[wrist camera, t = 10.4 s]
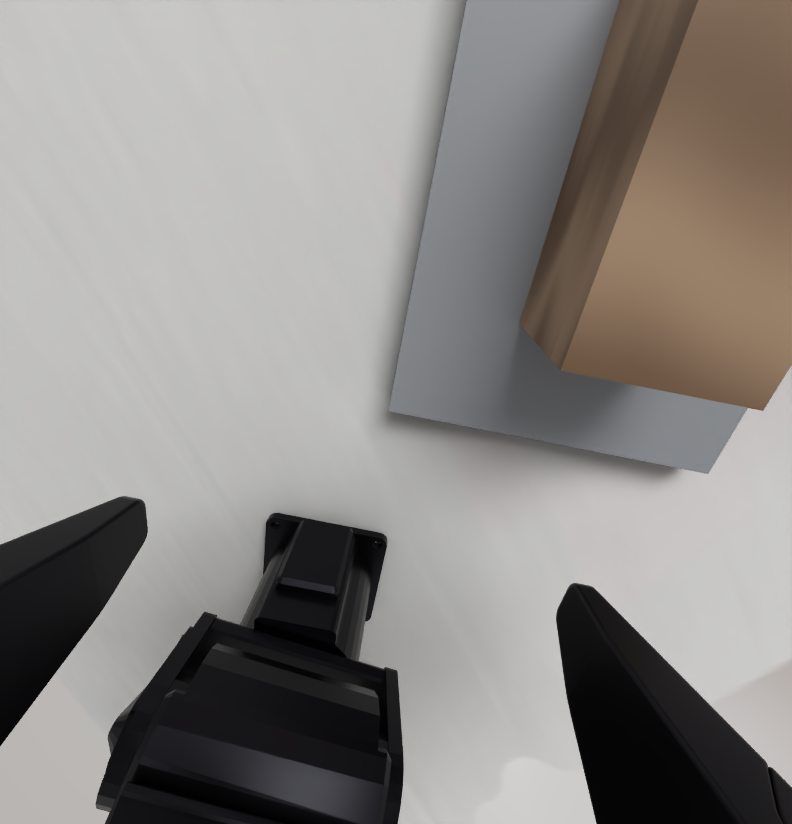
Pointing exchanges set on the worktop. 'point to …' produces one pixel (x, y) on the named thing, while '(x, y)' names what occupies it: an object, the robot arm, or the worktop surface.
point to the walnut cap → (678, 207)
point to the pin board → (522, 251)
